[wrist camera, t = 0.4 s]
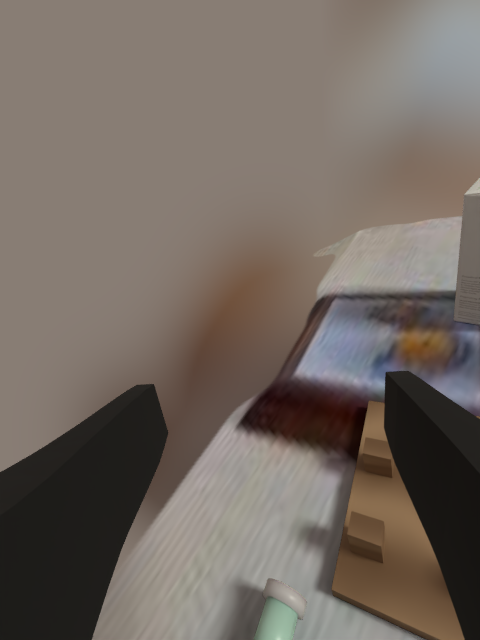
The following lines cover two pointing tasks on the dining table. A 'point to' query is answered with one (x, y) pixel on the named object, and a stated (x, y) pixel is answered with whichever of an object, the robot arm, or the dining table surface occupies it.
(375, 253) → the dining table surface
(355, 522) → the bottle cradle
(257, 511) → the dining table surface
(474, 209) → the skincare box
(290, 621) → the bottle
